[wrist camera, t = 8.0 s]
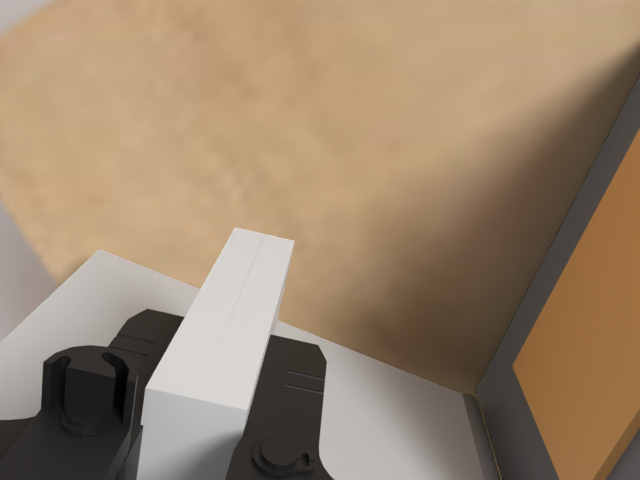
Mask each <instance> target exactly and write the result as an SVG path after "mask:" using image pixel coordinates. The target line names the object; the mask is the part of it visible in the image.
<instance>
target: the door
mask: <svg viewBox="0 0 640 480" xmlns="http://www.w3.org/2000/svg"><path fill="white" fill-rule="evenodd" d="M199 291H200V289H198V288H196V287H193V286H191V285H188V284H186V283H183V282H181V281H178V280H176V279H173V278H171V277H168V276H166V275H163V274H161V273H158V272H156V271H153V270H151V269H148V268H146V267H143V266H141V265H138V264H136V263H133V262H131V261H128V260H126V259H123V258H121V257H118V256H116V255H113V254H111V253H108V252H106V251H103V250H101V249H99V250H98V251H97V252H96V253H95V254H94V255H92V256H91V257H90V258H89V259H88V260H87V261H86V262H85V263H84V264H83V265H82V266H81V267H80V268H79V269H78V270H77V271H76V272H74V273H73V274H72V275H71V276H70V277H69V278H68V279H67V280H66V281H65V282H64V283H63V284H62V285H61V286H60V287H59V288H57V289H56V290H55V291H54V292H53V293H52V294H51V295H50V296H49V297H48V298H47V299H46V300H45V301H44V302H43V303H42V304H41V305H39V307H37V308H36V309H35V310H34V311H33V312H32V313H31V314H30V315H29V316H28V317H27V318H26V319H25V320H24V321H23V322H21V323H20V324H19V325H18V326H17V327H16V328H15V329H14V330H13V331H12V332H11V333H10V334H9V335H8V336H7V337H6V338H5V339H3V340H2V341H1V342H0V420H14V419H25V418H30V417H34V416H36V415H37V413H38V412H39V411H40V409H41V397H42V376H43V362H44V361H45V360H46V359H48V358H49V357H50V356H52V355H53V354H54V353H56V352H59V351H62V350H65V349H68V348H70V347H76V346H85V345H95V346H105V347H108V345H109V344H110V343H111V341H112V340H113V339H114V337H116V336H117V333H118V332H119V330H120V329H121V328H122V326H123V325H124V324H125V322H126V321H127V320H128V319H129V318H131V317H133V316H134V315H136V314H138V313H140V312H142V311H144V310H146V309H152V310H156V311H161V312H165V313H170V314H174V315H179V316H183V317H185V316H186V314H187V312H188V311H189V309H190V307H191V305H192V303H193V302H194V300H195V298H196V296H197V295H198V293H199ZM274 335H276V336H281V337H285V338H290V339H294V340H299V341H303V342H307V343H312V344H316V345H319V347H320V349H321V351H322V353H323V355H324V357H325V359H326V361H327V367H326V377H325V388H324V398H323V409H322V419H321V430H320V440H319V456H320V459H321V461H322V464H323V466H324V468H325V469H326V471H327V472H328V473H329V475H330V476H331V477H332V478H333V479H334V480H500V477H499V474H498V470H497V467H496V463H495V460H494V456H493V453H492V450H491V446H490V443H489V439H488V436H487V432H486V429H485V425H484V422H483V419H482V415H481V412H480V408H479V405H478V402H477V400H476V398H475V397H473V396H471V395H469V394H461V393H458V392H456V391H453V390H451V389H448V388H446V387H443V386H441V385H438V384H436V383H433V382H431V381H428V380H426V379H423V378H421V377H418V376H416V375H413V374H411V373H408V372H406V371H403V370H401V369H398V368H396V367H393V366H391V365H388V364H386V363H383V362H381V361H378V360H376V359H373V358H371V357H368V356H366V355H363V354H361V353H358V352H356V351H353V350H351V349H348V348H346V347H343V346H341V345H338V344H336V343H333V342H331V341H328V340H326V339H323V338H321V337H318V336H316V335H313V334H311V333H308V332H306V331H303V330H301V329H298V328H296V327H293V326H291V325H288V324H286V323H283V322H281V321H278V320H277V324H276V329H275V333H274Z"/></svg>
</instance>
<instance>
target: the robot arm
mask: <svg viewBox="0 0 640 480" xmlns="http://www.w3.org/2000/svg"><path fill="white" fill-rule="evenodd" d="M294 242H295V241H293V240H289V239H285V238H280V237H276V236H271V235H267V234H263V233H258V232H254V231H249V230H245V229H241V228H236V227H235V228H234V230H233V232H232V234H231V236H230V237H229V239H228V241H227V243H226V244H225V246H224V248H223V250H222V252H221V253H220V255H219V257H218V259H217V261H216V262H215V264H214V266H213V268H212V270H211V271H210V273H209V275H208V277H207V278H206V280H205V282H204V284H203V286H202V287H201V289H200V291H199V293H198V295H197V296H196V298H195V300H194V302H193V303H192V305H191V307H190V309H189V311H188V312H187V314H186V316H185V317H183V316H179V315H174V314H170V313H165V312H161V311H156V310H152V309H146V310H144V311H142V312H140V313H138V314H136V315H134V316H133V317H131V318H129V319H128V320H127V321H126V322H125V324H124V325H123V326H122V328H121V329H120V330H119V332H118V333H117V336H116V337H114V339H113V340H112V341H111V343H110V344H109V345H108V347H105V346H95V345H85V346H76V347H70V348H68V349H65V350H62V351H59V352H56V353H54V354H53V355H52V356H50V357H49V358H48V359H46V360H45V361H44V362H43V376H42V397H41V409H40V411H39V412H38V413H37V415H36V416H34V417H30V418H25V419H14V420H0V480H334V479H333V478H332V477H331V476H330V475H329V473H328V472H327V471H326V469H325V468H324V466H323V464H322V461H321V459H320V456H319V440H320V430H321V419H322V409H323V398H324V388H325V377H326V367H327V361H326V359H325V357H324V355H323V353H322V351H321V349H320V347H319V345H316V344H312V343H307V342H303V341H299V340H294V339H290V338H285V337H281V336H276V335H274V333H275V329H276V324H277V320H278V315H279V310H280V306H281V301H282V297H283V292H284V288H285V283H286V278H287V274H288V269H289V265H290V260H291V256H292V251H293V246H294Z"/></svg>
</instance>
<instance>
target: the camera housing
mask: <svg viewBox="0 0 640 480" xmlns="http://www.w3.org/2000/svg"><path fill="white" fill-rule="evenodd" d="M476 392H477V395H478V399H479V402H480V405H481V409H482V412H483V415H484V419H485V422H486V426H487V429H488V432H489V436H490V439H491V442H492V446H493V449H494V453H495V456H496V459H497V463H498V466H499V470H500V473H501V476H502V480H640V75H639V77H638V79H637V81H636V83H635V84H634V86H633V88H632V90H631V92H630V94H629V96H628V98H627V100H626V102H625V104H624V106H623V108H622V110H621V111H620V113H619V115H618V117H617V119H616V121H615V123H614V125H613V127H612V129H611V131H610V133H609V135H608V137H607V138H606V140H605V142H604V144H603V146H602V148H601V150H600V152H599V154H598V156H597V158H596V160H595V162H594V164H593V165H592V167H591V169H590V171H589V173H588V175H587V177H586V179H585V181H584V183H583V185H582V187H581V189H580V191H579V192H578V194H577V196H576V198H575V200H574V202H573V204H572V206H571V208H570V210H569V212H568V214H567V216H566V218H565V219H564V221H563V223H562V225H561V227H560V229H559V231H558V233H557V235H556V237H555V239H554V241H553V243H552V245H551V246H550V248H549V250H548V252H547V254H546V256H545V258H544V260H543V262H542V264H541V266H540V268H539V270H538V272H537V273H536V275H535V277H534V279H533V281H532V283H531V285H530V287H529V289H528V291H527V293H526V295H525V297H524V299H523V301H522V302H521V304H520V306H519V308H518V310H517V312H516V314H515V316H514V318H513V320H512V322H511V324H510V326H509V328H508V329H507V331H506V333H505V335H504V337H503V339H502V341H501V343H500V345H499V347H498V349H497V351H496V353H495V355H494V356H493V358H492V360H491V362H490V364H489V366H488V368H487V370H486V372H485V374H484V376H483V378H482V380H481V382H480V383H479V385H478V387H477V389H476Z"/></svg>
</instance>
